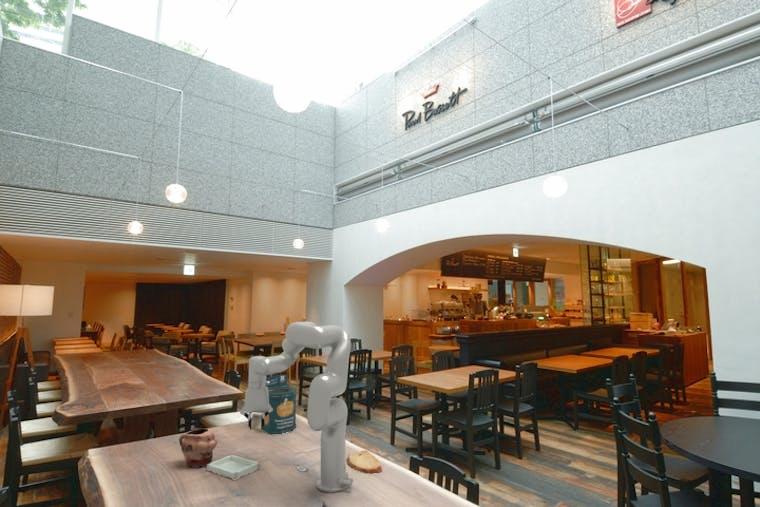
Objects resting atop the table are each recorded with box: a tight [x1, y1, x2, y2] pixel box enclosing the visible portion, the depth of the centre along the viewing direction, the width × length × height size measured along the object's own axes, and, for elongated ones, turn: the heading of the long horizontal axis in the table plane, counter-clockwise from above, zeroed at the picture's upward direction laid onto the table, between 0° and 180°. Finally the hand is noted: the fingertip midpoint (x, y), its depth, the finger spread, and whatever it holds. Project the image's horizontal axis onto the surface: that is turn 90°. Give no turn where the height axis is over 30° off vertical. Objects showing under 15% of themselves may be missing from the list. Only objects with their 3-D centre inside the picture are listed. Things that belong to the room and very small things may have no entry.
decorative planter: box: [178, 428, 218, 468], centre depth 173 cm, size 20×12×14 cm, turn 76°
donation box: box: [261, 374, 297, 435], centre depth 219 cm, size 16×16×28 cm
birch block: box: [250, 412, 262, 434], centre depth 171 cm, size 4×12×5 cm, turn 16°
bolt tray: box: [206, 454, 261, 479], centre depth 165 cm, size 18×12×2 cm
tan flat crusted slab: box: [346, 449, 383, 475], centre depth 168 cm, size 18×18×4 cm
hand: (256, 427), depth 171 cm, fingers closed on birch block, 4 cm apart
